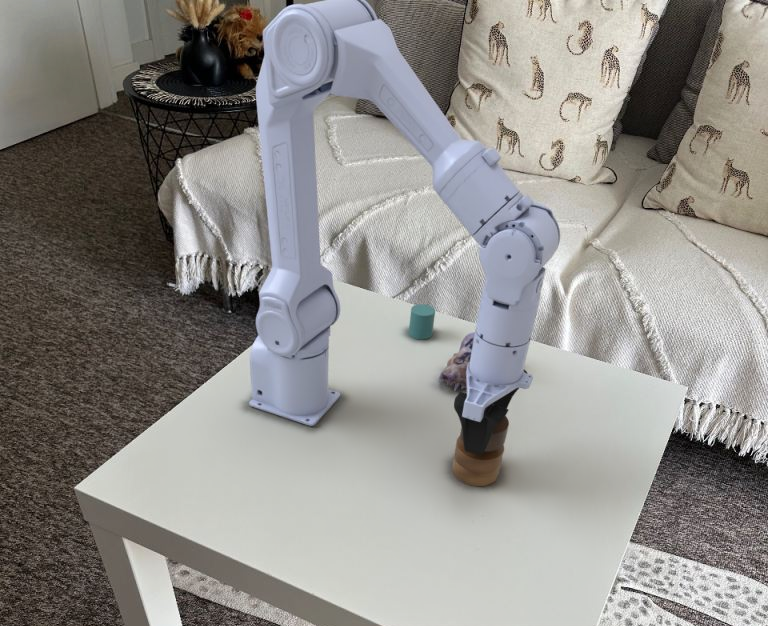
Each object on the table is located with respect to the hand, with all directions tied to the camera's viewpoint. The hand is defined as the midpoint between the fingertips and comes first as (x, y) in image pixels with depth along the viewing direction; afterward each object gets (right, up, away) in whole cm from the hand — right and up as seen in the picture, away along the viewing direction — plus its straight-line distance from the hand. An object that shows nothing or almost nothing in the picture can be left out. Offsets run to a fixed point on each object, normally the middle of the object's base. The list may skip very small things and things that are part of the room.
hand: (481, 438), depth 82 cm
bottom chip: (0, -4, +3) cm, 5 cm away
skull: (+1, +11, +19) cm, 22 cm away
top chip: (0, -2, +2) cm, 3 cm away
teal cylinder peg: (-6, +19, +26) cm, 33 cm away
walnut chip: (0, 0, 0) cm, 0 cm away
